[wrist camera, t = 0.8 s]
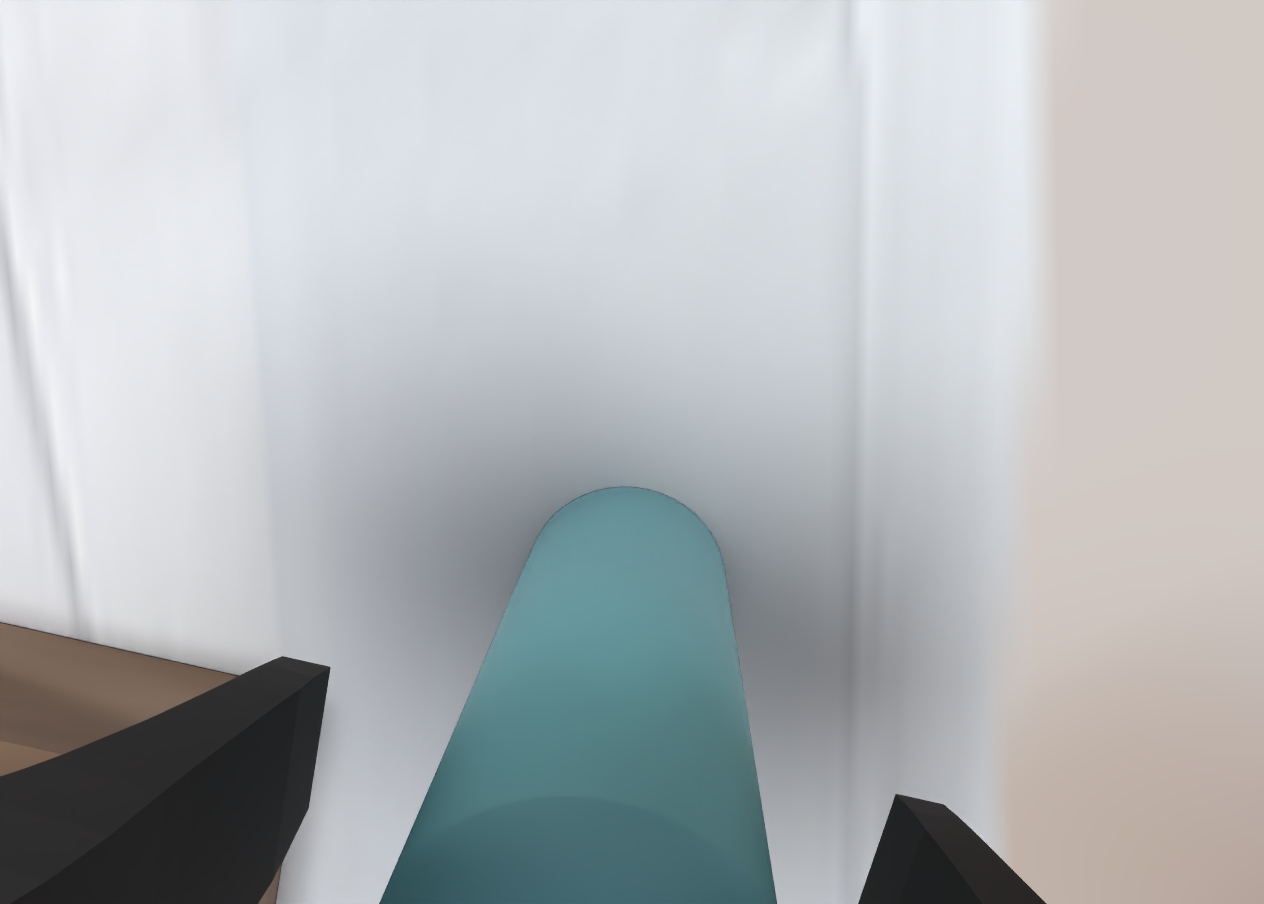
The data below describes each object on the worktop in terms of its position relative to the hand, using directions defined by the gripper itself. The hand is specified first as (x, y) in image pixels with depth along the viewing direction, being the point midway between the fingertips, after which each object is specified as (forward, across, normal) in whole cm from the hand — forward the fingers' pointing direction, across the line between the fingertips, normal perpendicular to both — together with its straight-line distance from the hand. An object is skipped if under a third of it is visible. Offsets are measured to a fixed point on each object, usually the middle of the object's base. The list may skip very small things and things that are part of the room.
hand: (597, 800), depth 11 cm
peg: (+7, 0, 0) cm, 7 cm away
